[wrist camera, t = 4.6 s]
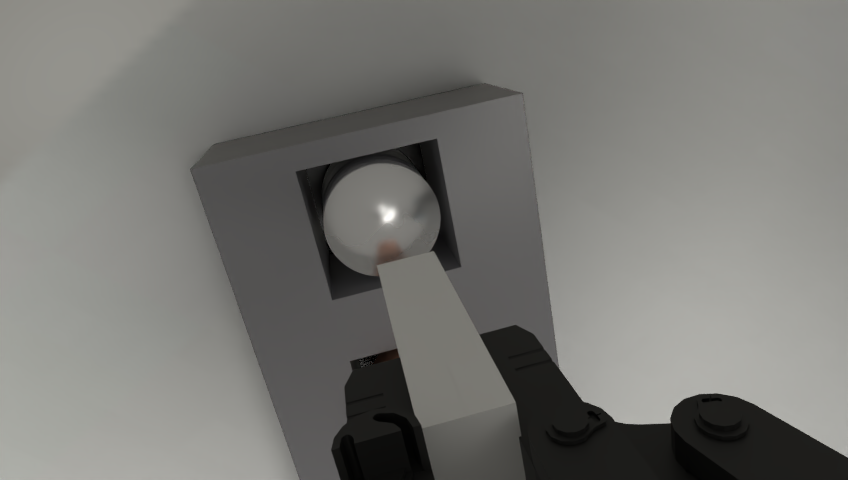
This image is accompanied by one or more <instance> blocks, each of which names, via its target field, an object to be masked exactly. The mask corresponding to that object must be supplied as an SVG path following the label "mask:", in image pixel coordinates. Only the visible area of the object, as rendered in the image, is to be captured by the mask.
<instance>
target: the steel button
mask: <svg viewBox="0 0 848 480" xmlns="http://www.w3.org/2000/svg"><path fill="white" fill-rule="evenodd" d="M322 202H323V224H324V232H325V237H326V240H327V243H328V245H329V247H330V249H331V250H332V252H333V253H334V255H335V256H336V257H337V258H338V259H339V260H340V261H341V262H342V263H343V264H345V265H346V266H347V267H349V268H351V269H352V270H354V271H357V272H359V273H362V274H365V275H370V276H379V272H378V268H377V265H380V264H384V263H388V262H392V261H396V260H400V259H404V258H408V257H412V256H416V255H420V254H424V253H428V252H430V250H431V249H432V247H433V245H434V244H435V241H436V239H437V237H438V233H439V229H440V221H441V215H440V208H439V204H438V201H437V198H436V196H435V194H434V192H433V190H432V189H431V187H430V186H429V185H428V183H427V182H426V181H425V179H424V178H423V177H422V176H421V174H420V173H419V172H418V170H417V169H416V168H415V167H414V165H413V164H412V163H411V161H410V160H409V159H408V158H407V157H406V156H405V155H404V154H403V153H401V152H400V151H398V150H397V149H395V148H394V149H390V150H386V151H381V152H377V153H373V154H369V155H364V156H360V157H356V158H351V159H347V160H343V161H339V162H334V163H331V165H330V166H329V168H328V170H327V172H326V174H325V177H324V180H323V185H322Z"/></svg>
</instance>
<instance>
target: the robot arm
mask: <svg viewBox="0 0 848 480" xmlns="http://www.w3.org/2000/svg"><path fill="white" fill-rule="evenodd" d="M377 268H378V272H379V277H380V281H381V285H382V289H383V293H384V297H385V301H386V305H387V309H388V313H389V317H390V321H391V325H392V329H393V333H394V337H395V341H396V345H397V349H398V354H399V358H395V359H392V360H388V361H384V362H380V363H377V364H373V365H369V366H365V367H362V368H358V369H354V370H353V371H352V373H351V375H350V377H349V379H348V381H347V382H346V384H345V386H344V389H345V403H346V417H347V423H346V424H345V425H343V426H342V428H341V429H340V430H339V432H338V433H337V434H336V436H335V437H334V440H333V444H332V448H331V452H332V455H333V458H334V461H335V464H336V467H337V471H338V474H339V477H340V480H848V458H847V457H845V456H844V455H842V454H840V453H838V452H837V451H835V450H833V449H831V448H830V447H828V446H826V445H824V444H823V443H821V442H819V441H817V440H816V439H814V438H812V437H810V436H809V435H807V434H805V433H803V432H802V431H800V430H798V429H796V428H795V427H793V426H791V425H789V424H788V423H786V422H784V421H782V420H781V419H779V418H777V417H775V416H773V415H772V414H770V413H768V412H766V411H765V410H763V409H761V408H759V407H758V406H756V405H754V404H752V403H750V402H747V401H745V400H742V399H740V398H738V397H734V396H728V395H722V394H699V395H696V396H692V397H689V398H686V399H684V400H682V401H681V402H680V403H679V404H678V405H676V406H675V407H674V409H673V412H672V415H671V418H670V419H671V423H670V424H644V425H637V424H623V423H618V422H615V421H614V420H613V418H612V417H611V416H610V415H608V414H607V413H606V412H605V411H604V410H603V409H601V408H599V407H597V406H594V405H591V404H589V403H585V402H583V401H582V400H581V398H580V397H579V396H578V394H577V393H576V391H575V390H574V389H573V387H572V386H571V385H570V383H569V382H568V380H567V379H566V378H565V376H564V375H563V374H562V372H561V371H560V369H559V368H558V367H557V365H556V364H555V363H554V362H552V358H551V357H550V356H549V354H548V353H547V352H546V350H544V348H543V346H542V345H541V343H540V342H539V341H538V339H537V338H536V337H535V335H534V334H533V333H531V332H529V331H527V330H525V329H523V328H521V327H519V326H517V325H513V326H509V327H505V328H501V329H498V330H494V331H490V332H486V333H483V334H479V333H478V332H477V330H476V328H475V326H474V324H473V322H472V321H471V319H470V317H469V315H468V313H467V311H466V309H465V308H464V306H463V304H462V302H461V300H460V298H459V297H458V295H457V293H456V291H455V289H454V287H453V285H452V284H451V282H450V280H449V278H448V276H447V274H446V273H445V271H444V269H443V267H442V265H441V263H440V261H439V260H438V258H437V256H436V254H435V252H434V251H432V252H428V253H424V254H420V255H416V256H412V257H408V258H404V259H400V260H396V261H392V262H388V263H384V264H380V265H377Z"/></svg>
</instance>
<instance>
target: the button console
mask: <svg viewBox="0 0 848 480" xmlns="http://www.w3.org/2000/svg"><path fill="white" fill-rule="evenodd" d="M416 143H420V148H421V153H422V158H423V163H424V168H425V173H426V178H427V183H428V185H429V186H430V187H431V189H432V190H433V192H434V194H435V196H436V198H437V201H438V204H439V208H440V215H441V221H440V229H439V233H438V237H437V239H436V241H435V244H434V245H433V247H432V249H431V250H430V252H432V251H434V252H435V254H436V256H437V258H438V260H439V261H440V263H441V265H442V267H443V269H444V271H445V273H446V274H447V276H448V278H449V280H450V282H451V284H452V285H453V287H454V289H455V291H456V293H457V295H458V297H459V298H460V300H461V302H462V304H463V306H464V308H465V309H466V311H467V313H468V315H469V317H470V319H471V321H472V322H473V324H474V326H475V328H476V330H477V332H478V333H479V334H483V333H486V332H490V331H494V330H498V329H501V328H505V327H509V326H513V325H517V326H519V327H521V328H523V329H525V330H527V331H529V332H531V333H533V334H534V335H535V337H536V338H537V339H538V341H539V342H540V343H541V345H542V346H543V348H544V350H546V352H547V353H548V354H549V356H550V357H551V358H552V362H554V363H555V364H556V365H557V367H558V368H559V365H558V358H557V350H556V342H555V335H554V327H553V319H552V312H551V304H550V297H549V289H548V281H547V274H546V266H545V259H544V251H543V243H542V236H541V228H540V221H539V213H538V205H537V198H536V190H535V183H534V175H533V167H532V160H531V152H530V144H529V137H528V129H527V122H526V114H525V106H524V99H523V93H520V92H517V91H513V90H509V89H505V88H501V87H498V86H494V85H490V84H486V83H484V84H479V85H475V86H470V87H466V88H462V89H457V90H453V91H448V92H444V93H439V94H435V95H431V96H426V97H422V98H417V99H413V100H408V101H404V102H400V103H395V104H391V105H386V106H382V107H377V108H373V109H369V110H364V111H360V112H355V113H351V114H346V115H342V116H338V117H333V118H329V119H324V120H320V121H316V122H311V123H307V124H302V125H298V126H293V127H289V128H285V129H280V130H276V131H271V132H267V133H262V134H258V135H254V136H249V137H245V138H240V139H236V140H231V141H227V142H223V143H218V144H214V145H213V146H212V147H211V148H210V149H209V150H208V151H207V152H206V153H205V154H204V156H203V157H202V158H201V159H200V160H199V161H198V162H197V163H196V164H195V165H194V166H193V167H192V168H191V169H190V170H191V173H192V176H193V179H194V182H195V184H196V187H197V190H198V193H199V196H200V199H201V201H202V204H203V207H204V210H205V213H206V216H207V218H208V221H209V224H210V227H211V230H212V233H213V235H214V238H215V241H216V244H217V247H218V249H219V252H220V255H221V258H222V261H223V264H224V266H225V269H226V272H227V275H228V278H229V281H230V283H231V286H232V289H233V292H234V295H235V297H236V300H237V303H238V306H239V309H240V312H241V314H242V317H243V320H244V323H245V326H246V329H247V331H248V334H249V337H250V340H251V343H252V346H253V348H254V351H255V354H256V357H257V360H258V362H259V365H260V368H261V371H262V374H263V377H264V379H265V382H266V385H267V388H268V391H269V394H270V396H271V399H272V402H273V405H274V408H275V410H276V413H277V416H278V419H279V422H280V425H281V427H282V430H283V433H284V436H285V439H286V442H287V444H288V447H289V450H290V453H291V456H292V459H293V461H294V464H295V467H296V470H297V473H298V475H299V478H300V480H340V477H339V474H338V471H337V467H336V464H335V461H334V458H333V455H332V452H331V448H332V444H333V440H334V437H335V436H336V434H337V433H338V432H339V430H340V429H341V428H342V426H343V425H345V424H346V423H347V417H346V403H345V389H344V386H345V384H346V382H347V381H348V379H349V377H350V375H351V373H352V371H353V370H354V369H358V368H361V367H360V363H359V359H360V358H364V357H367V356H371V355H375V354H379V353H382V352H386V351H390V350H394V349H397V345H396V341H395V337H394V333H393V329H392V325H391V321H390V317H389V313H388V309H387V305H386V301H385V297H384V293H383V289H382V285H381V281H380V277H379V276H370V275H365V274H362V273H359V272H357V271H354V270H352V269H351V268H349V267H347V266H346V265H345V264H343V263H342V262H341V261H340V260H339V259H338V258H337V257H336V256H335V255H334V254H332V255H329V252H328V248H327V245H326V241H325V238H324V234H323V230H322V227H321V223H320V220H319V216H318V213H317V209H316V205H315V202H314V198H313V195H312V191H311V187H310V184H309V180H308V177H307V173H306V170H305V169H309V168H313V167H317V166H322V165H326V164H330V163H334V162H339V161H343V160H347V159H351V158H356V157H360V156H364V155H369V154H373V153H377V152H381V151H386V150H390V149H394V148H399V147H403V146H407V145H411V144H416Z"/></svg>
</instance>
